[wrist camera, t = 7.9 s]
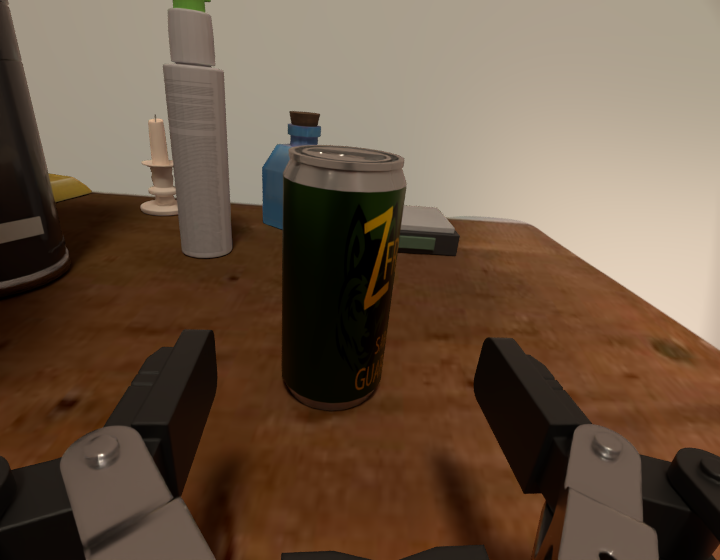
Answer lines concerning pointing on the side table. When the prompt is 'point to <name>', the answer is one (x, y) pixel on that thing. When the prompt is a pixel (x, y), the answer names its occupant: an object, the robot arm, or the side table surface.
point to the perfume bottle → (285, 164)
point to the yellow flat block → (67, 187)
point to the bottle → (198, 132)
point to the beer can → (338, 270)
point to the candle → (160, 174)
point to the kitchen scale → (427, 232)
